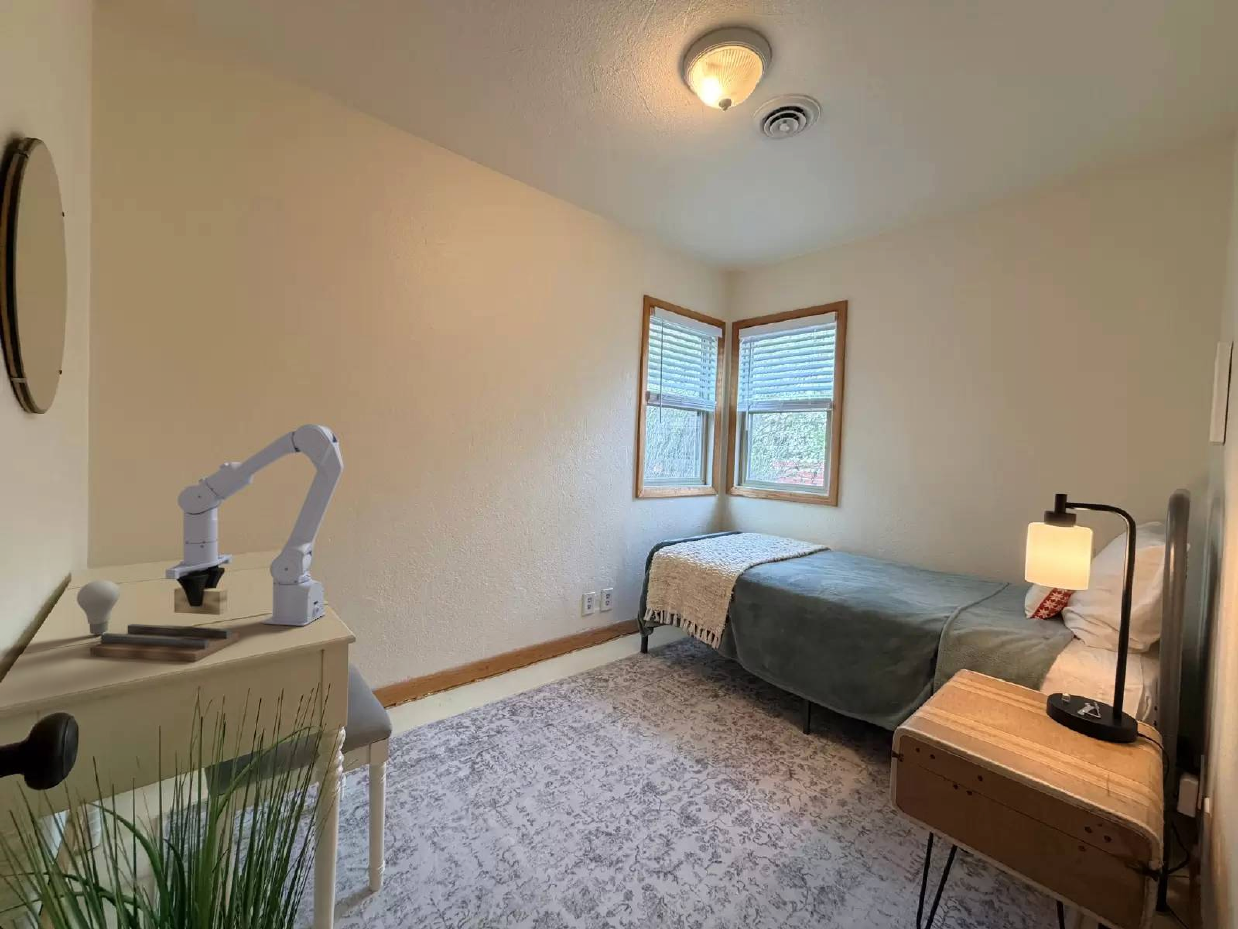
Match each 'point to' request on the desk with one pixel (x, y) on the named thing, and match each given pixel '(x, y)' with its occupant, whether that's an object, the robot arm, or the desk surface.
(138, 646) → the track board
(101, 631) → the lightbulb
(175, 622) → the desk surface
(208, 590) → the wooden block
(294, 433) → the robot arm
